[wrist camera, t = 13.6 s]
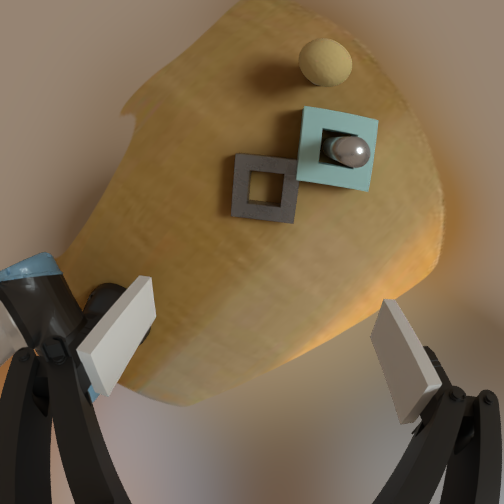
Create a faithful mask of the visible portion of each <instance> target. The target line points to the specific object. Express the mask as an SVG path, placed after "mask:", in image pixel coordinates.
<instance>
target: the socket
mask: <svg viewBox="0 0 504 504" xmlns="http://www.w3.org/2000/svg"><path fill="white" fill-rule="evenodd" d="M377 129H378V120H375V119H370V118H366V117H362V116H357V115H353V114H348V113H343V112H338V111H332V110H327V109H321V108H315V107H308V106H304V108H303V112H302V122H301V131H300V140H299V149H298V158H297V160H298V165H297V173H296V180H300V181H307V182H314V183H321V184H327V185H333V186H339V187H345V188H351V189H356V190H362V191H367V192H368V190H369V185H370V179H371V173H372V166H373V160H374V153H375V145H376V137H377ZM322 130H327V131H333V132H338V133H344V134H349V135H351V137H360V138H362V139H363V140H365V141H366V142H367V144H368V145H369V148H370V158H369V161H368V162H367V163H366V164H365V165H364V166H362V167H360V168H353V167H350V166H347V167H346V166H341V165H335V164H329V163H323V162H319V155H320V147H321V138H322Z"/></svg>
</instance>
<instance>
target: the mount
mask: <svg viewBox="0 0 504 504" xmlns="http://www.w3.org/2000/svg"><path fill="white" fill-rule="evenodd" d="M297 165H298V160H297V159H291V158H283V157H275V156H266V155H256V154H245V153H237V154H236V156H235V168H234V181H233V194H232V208H231V216H235V217H243V218H252V219H260V220H268V221H276V222H284V223H291V224H293V223H294V216H295V209H296V202H297V194H298V187H299V180H296V173H297ZM252 170H254V171H263V172H272V173H280V174H284V182H283V190H282V198H281V204H280V203H272V202H264V201H255V200H249V193H250V181H251V171H252Z"/></svg>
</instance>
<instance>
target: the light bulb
mask: <svg viewBox="0 0 504 504" xmlns="http://www.w3.org/2000/svg"><path fill="white" fill-rule="evenodd" d="M299 66H300V69H301V71H302V73H303V74H304V76H305V77H306V78H307V79H308V80H310V81H311V82H312V83H313V84H315V85H320V86H325V87H331V86H336V85H338V84H341V83H342V82H343V81H345V80H346V79H347V78H348V76H349V74H350V73H351V69H352V60H351V57H350V55H349V53H348V51H347V50H346V49H345V48H344V47H343V46H342V45H341V44H339V43H337V42H336V41H334V40H331V39H326V38H322V39H316V40H313V41H311V42H309V43H308V44H306V45H305V46H304V47H303V49H302V50H301V52H300V54H299Z"/></svg>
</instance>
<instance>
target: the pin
mask: <svg viewBox="0 0 504 504" xmlns="http://www.w3.org/2000/svg"><path fill="white" fill-rule="evenodd" d="M323 152H324V153H325V155H326V156H327V157H329V158H331V159H334V160H336V161H338V162H341V163H343V164H345V165H347V166H350V167H353V168H360V167H362V166H364V165H365V164H366V163H367V162H368V161H369V158H370V148H369V145H368V144H367V142H366V141H365V140H363V139H362V138H360V137H330V138H328V139H326V140H325V141H324V143H323Z"/></svg>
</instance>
